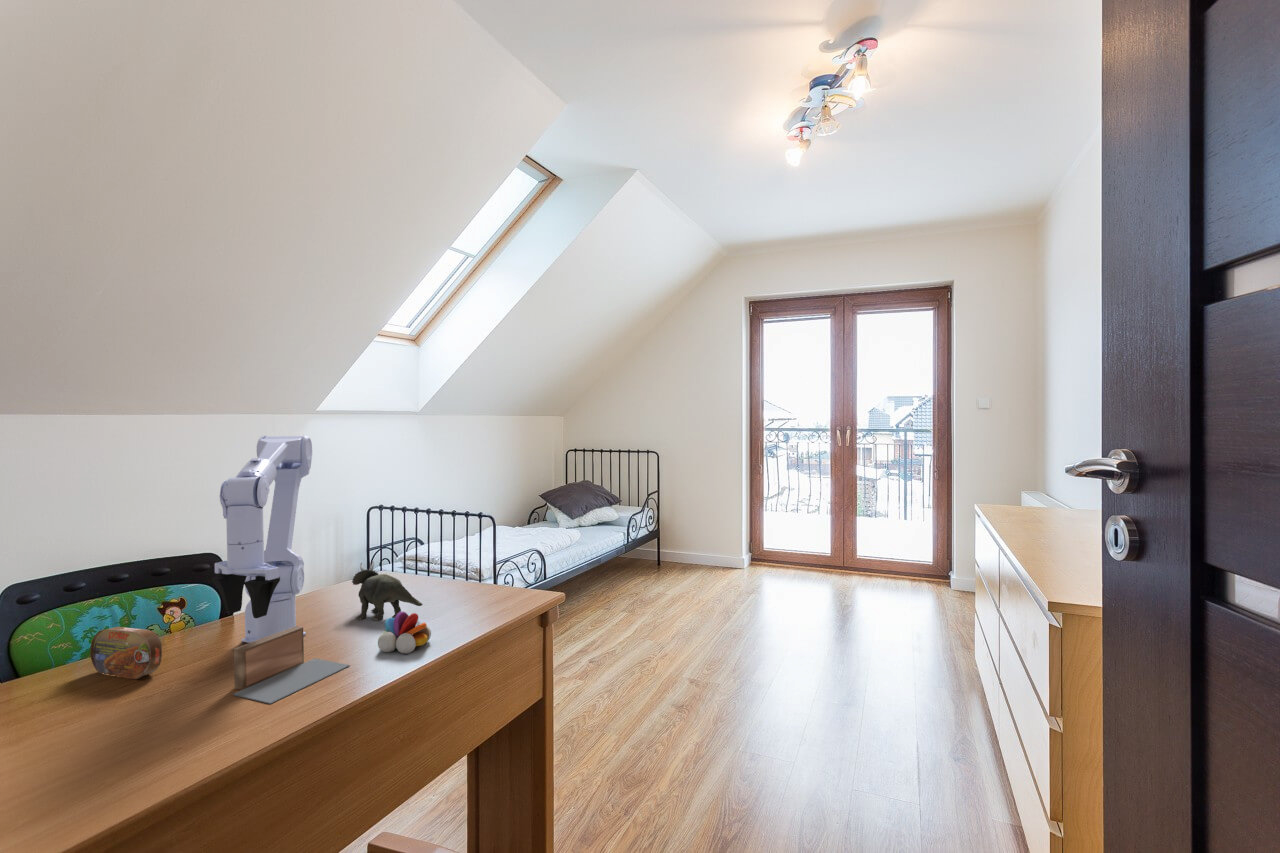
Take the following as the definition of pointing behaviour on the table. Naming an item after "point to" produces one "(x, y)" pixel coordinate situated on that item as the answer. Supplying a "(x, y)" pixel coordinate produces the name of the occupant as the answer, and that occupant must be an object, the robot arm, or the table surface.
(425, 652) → the table surface
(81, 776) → the table surface
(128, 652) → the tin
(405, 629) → the rainbow petal rattle
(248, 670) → the wooden block
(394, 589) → the dinosaur figurine
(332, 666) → the felt mat
